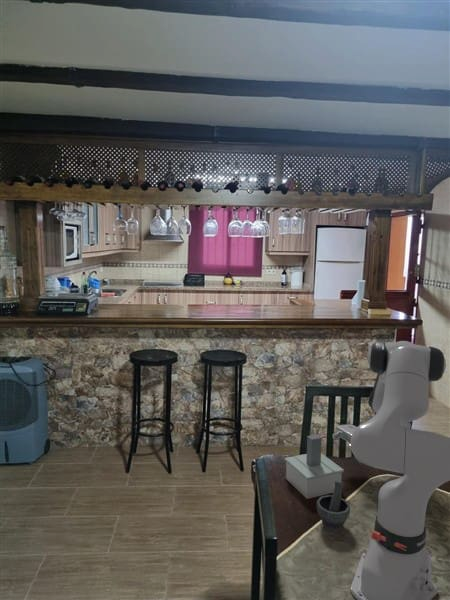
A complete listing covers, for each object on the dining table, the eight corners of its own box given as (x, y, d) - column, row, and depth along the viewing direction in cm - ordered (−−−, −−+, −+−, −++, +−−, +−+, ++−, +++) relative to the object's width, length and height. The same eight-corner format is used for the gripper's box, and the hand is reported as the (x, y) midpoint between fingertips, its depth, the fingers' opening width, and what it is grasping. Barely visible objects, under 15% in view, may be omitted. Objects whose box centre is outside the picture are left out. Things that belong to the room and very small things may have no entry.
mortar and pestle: (342, 540, 122) (344, 501, 120) (311, 528, 127) (313, 490, 126) (353, 520, 131) (355, 483, 130) (325, 509, 136) (326, 474, 135)
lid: (318, 457, 160) (319, 426, 159) (343, 476, 147) (345, 442, 145) (284, 463, 155) (285, 431, 154) (307, 484, 141) (308, 449, 140)
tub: (317, 471, 160) (318, 454, 160) (340, 490, 147) (341, 471, 147) (285, 478, 155) (286, 460, 154) (307, 498, 142) (307, 479, 142)
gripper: (353, 418, 169) (324, 423, 164) (391, 439, 150) (360, 445, 145) (353, 433, 169) (324, 439, 164) (390, 456, 151) (359, 462, 145)
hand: (341, 442), depth 154 cm, fingers open, 8 cm apart
